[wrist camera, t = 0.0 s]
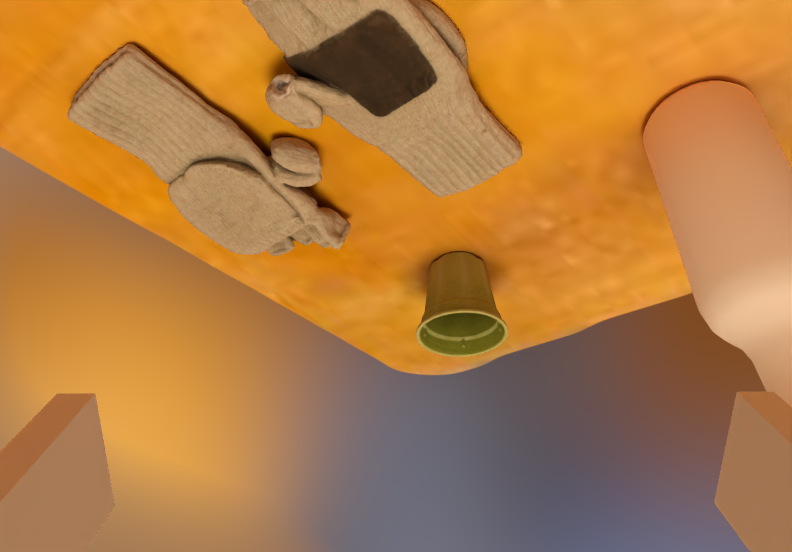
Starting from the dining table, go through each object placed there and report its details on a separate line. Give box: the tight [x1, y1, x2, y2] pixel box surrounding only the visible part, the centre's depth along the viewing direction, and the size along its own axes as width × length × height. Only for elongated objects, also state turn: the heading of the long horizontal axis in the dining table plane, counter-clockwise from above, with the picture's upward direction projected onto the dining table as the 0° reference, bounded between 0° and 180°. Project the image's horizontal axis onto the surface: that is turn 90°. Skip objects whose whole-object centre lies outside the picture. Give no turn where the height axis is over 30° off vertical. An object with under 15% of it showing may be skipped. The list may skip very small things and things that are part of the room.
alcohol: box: [643, 80, 792, 407], centre depth 44 cm, size 9×9×30 cm
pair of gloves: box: [68, 0, 522, 256], centre depth 51 cm, size 30×26×5 cm
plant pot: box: [416, 252, 508, 357], centre depth 67 cm, size 9×9×9 cm
